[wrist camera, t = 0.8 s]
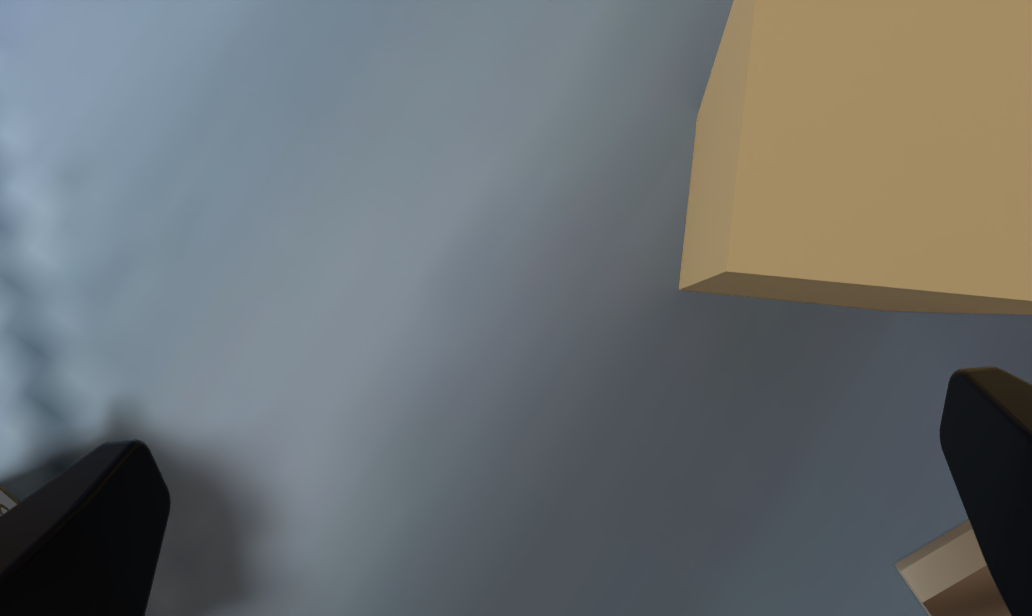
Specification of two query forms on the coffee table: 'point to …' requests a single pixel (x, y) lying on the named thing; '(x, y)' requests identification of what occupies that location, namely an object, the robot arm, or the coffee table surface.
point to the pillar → (867, 156)
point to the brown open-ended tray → (953, 576)
